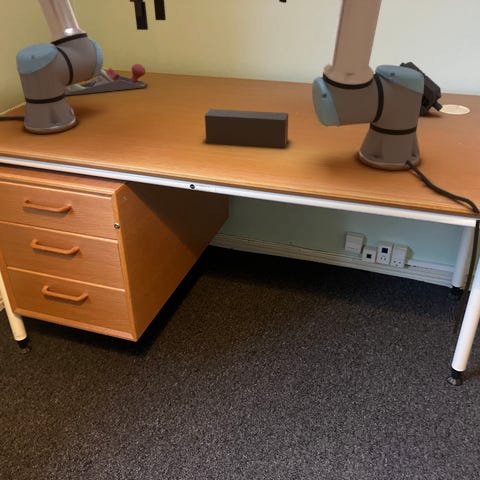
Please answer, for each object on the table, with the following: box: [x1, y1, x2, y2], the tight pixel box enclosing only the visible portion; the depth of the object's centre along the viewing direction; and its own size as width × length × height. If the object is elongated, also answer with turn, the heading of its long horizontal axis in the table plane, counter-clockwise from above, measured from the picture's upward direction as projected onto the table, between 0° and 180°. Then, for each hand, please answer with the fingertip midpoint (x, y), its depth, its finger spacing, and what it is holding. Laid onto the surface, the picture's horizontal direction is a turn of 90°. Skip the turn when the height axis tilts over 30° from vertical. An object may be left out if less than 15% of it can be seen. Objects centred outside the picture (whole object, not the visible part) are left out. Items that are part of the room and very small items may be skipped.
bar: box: [204, 108, 289, 149], centre depth 149 cm, size 22×6×8 cm, turn 77°
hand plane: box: [64, 63, 146, 96], centre depth 194 cm, size 7×31×15 cm, turn 107°
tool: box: [398, 61, 444, 116], centre depth 168 cm, size 6×19×15 cm, turn 51°
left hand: (152, 24), depth 140 cm, fingers open, 13 cm apart
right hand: (303, 0), depth 152 cm, fingers open, 13 cm apart
